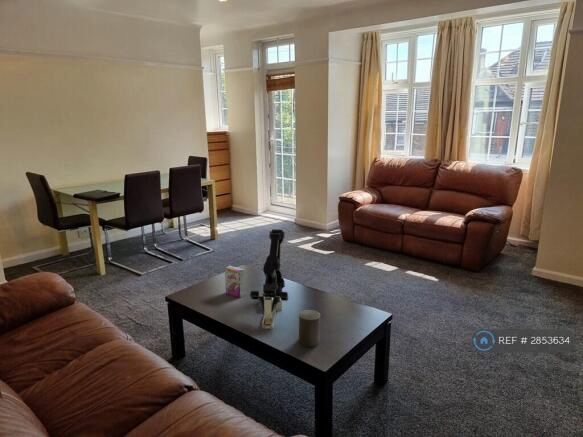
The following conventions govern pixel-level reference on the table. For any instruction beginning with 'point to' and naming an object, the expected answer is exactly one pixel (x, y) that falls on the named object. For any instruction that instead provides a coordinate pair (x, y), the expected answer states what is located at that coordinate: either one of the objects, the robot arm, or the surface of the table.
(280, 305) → the socket block
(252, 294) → the robot arm
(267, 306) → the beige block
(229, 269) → the candy bar box
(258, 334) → the table surface
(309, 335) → the pillar candle
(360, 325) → the table surface
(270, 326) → the u-shaped channel
